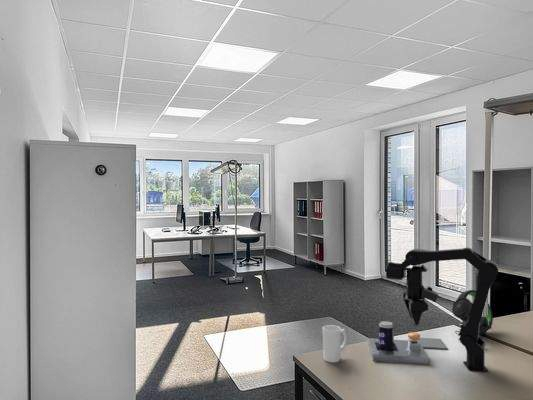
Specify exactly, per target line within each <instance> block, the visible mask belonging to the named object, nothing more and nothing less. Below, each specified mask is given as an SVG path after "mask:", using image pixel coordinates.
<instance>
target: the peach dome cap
mask: <svg viewBox="0 0 533 400" xmlns="http://www.w3.org/2000/svg"><path fill="white" fill-rule="evenodd" d="M407 338H408V340H412V342H416V340H420V338H421V334H420V333H418V332H413V331H411V332H408V333H407Z"/></svg>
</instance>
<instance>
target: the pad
mask: <svg viewBox="0 0 533 400" xmlns="http://www.w3.org/2000/svg"><path fill="white" fill-rule="evenodd" d="M418 341H419V342H420V344H421V346H422V347H423V349H427V348H433V349H432V350H447V351H448V350H449V348H448V347H447V345H446V344H445V342H443V340H442V339H441V338H435V337H434V338H432V337H431V338H430V337H420V340H418Z"/></svg>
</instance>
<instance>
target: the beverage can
mask: <svg viewBox="0 0 533 400" xmlns="http://www.w3.org/2000/svg"><path fill="white" fill-rule="evenodd" d="M394 328H395V327H394V323H393V322H392V321H387V320H382V321H381V320H380V321H379V324H378V339H379V349H378V350H381V351H394V350H395V349H394V340H395V337H394V336H395V333H394V332H395V331H394V330H395V329H394Z"/></svg>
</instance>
